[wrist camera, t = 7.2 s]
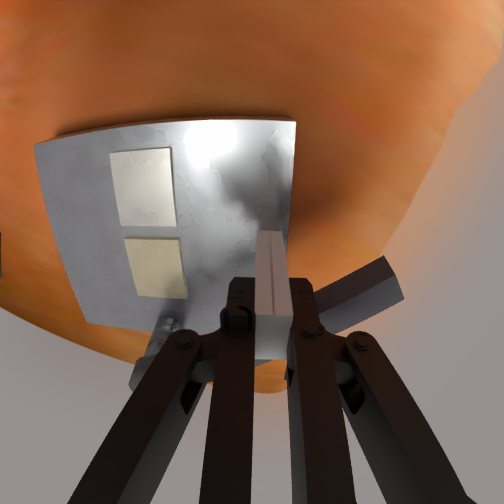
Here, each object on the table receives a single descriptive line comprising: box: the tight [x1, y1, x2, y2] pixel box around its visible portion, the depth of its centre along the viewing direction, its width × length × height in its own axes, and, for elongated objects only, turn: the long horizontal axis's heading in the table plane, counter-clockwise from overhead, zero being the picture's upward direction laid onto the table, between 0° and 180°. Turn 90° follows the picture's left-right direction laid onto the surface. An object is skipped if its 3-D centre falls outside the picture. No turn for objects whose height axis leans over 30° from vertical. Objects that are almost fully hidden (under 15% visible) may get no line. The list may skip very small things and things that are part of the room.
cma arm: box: [129, 255, 404, 392], centre depth 15 cm, size 19×3×2 cm, turn 125°
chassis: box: [34, 116, 296, 358], centre depth 18 cm, size 17×18×7 cm
